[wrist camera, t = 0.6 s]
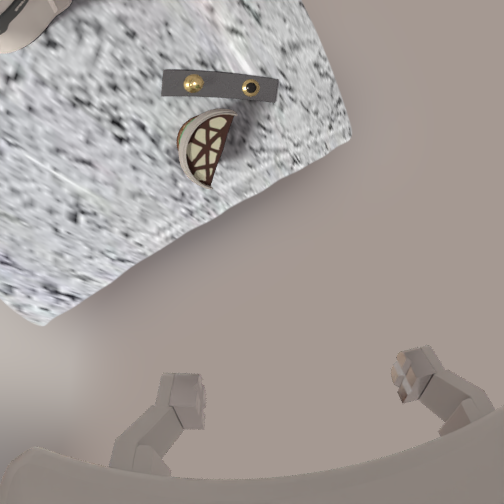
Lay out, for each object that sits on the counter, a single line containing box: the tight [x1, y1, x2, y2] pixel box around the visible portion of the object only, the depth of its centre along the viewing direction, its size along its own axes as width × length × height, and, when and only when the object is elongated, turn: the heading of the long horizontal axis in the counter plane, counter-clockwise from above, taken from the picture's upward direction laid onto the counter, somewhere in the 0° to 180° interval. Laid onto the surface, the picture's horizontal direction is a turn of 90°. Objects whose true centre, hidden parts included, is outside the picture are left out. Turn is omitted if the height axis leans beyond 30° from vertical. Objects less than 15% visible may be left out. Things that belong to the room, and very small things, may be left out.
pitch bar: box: [161, 70, 278, 103], centre depth 41 cm, size 4×20×4 cm, turn 83°
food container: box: [177, 109, 237, 189], centre depth 41 cm, size 12×6×10 cm, turn 159°
